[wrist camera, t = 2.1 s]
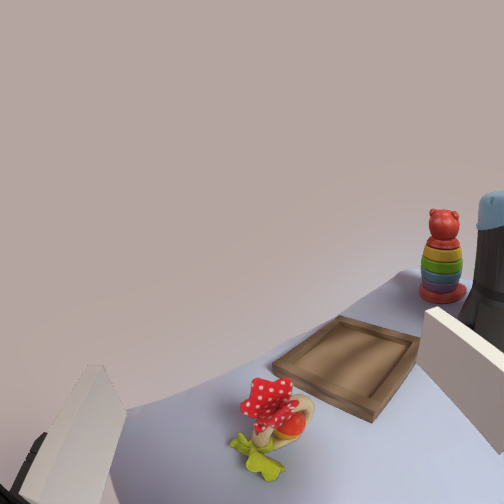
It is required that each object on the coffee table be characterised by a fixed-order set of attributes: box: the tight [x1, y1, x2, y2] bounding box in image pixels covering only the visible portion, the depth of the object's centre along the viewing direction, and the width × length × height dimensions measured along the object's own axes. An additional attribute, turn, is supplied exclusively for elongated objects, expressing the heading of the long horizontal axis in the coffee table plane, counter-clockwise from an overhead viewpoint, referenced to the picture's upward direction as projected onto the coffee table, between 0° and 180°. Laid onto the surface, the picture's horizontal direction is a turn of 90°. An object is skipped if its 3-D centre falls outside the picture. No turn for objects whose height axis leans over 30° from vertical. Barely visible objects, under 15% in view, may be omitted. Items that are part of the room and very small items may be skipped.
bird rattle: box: [229, 378, 315, 482], centre depth 23 cm, size 6×11×9 cm
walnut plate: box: [272, 315, 421, 423], centre depth 36 cm, size 16×16×2 cm
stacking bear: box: [420, 209, 466, 304], centre depth 47 cm, size 11×10×18 cm
